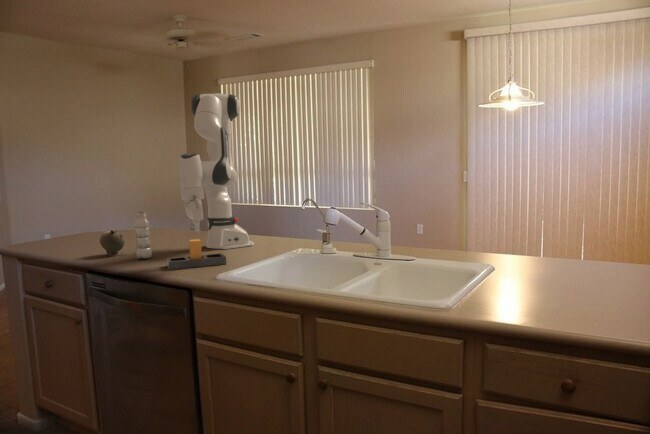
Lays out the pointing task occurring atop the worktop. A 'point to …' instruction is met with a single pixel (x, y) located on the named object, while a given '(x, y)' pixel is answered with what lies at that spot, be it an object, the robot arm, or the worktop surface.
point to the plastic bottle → (143, 236)
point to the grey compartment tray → (195, 261)
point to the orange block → (195, 249)
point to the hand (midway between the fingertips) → (195, 229)
